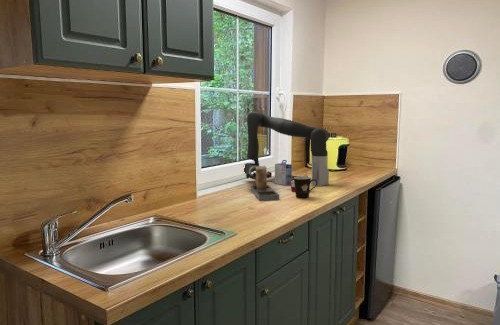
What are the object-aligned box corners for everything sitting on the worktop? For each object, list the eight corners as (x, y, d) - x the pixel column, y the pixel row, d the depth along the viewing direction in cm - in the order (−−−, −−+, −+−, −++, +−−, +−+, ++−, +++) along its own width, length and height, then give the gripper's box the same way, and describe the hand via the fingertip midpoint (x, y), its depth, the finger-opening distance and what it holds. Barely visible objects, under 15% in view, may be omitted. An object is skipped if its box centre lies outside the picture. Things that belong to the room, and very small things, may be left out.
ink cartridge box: (292, 184, 222) (292, 160, 220) (285, 185, 219) (285, 161, 217) (280, 182, 230) (280, 159, 228) (274, 183, 226) (274, 160, 225)
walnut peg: (265, 190, 206) (264, 165, 204) (266, 192, 201) (266, 166, 199) (256, 191, 205) (255, 166, 203) (257, 192, 200) (257, 167, 199)
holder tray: (268, 189, 209) (268, 185, 209) (279, 199, 183) (279, 194, 183) (251, 190, 207) (250, 186, 207) (259, 200, 182) (259, 195, 182)
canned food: (308, 200, 200) (309, 186, 195) (289, 198, 202) (290, 183, 197) (309, 187, 209) (311, 173, 204) (292, 185, 211) (292, 171, 205)
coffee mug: (292, 198, 185) (292, 179, 183) (294, 195, 193) (294, 176, 192) (316, 199, 182) (316, 179, 181) (317, 195, 190) (317, 176, 189)
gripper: (243, 166, 218) (247, 170, 202) (267, 165, 220) (273, 169, 204) (244, 179, 218) (248, 184, 203) (267, 178, 221) (273, 183, 205)
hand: (260, 176), depth 203 cm, fingers open, 8 cm apart
